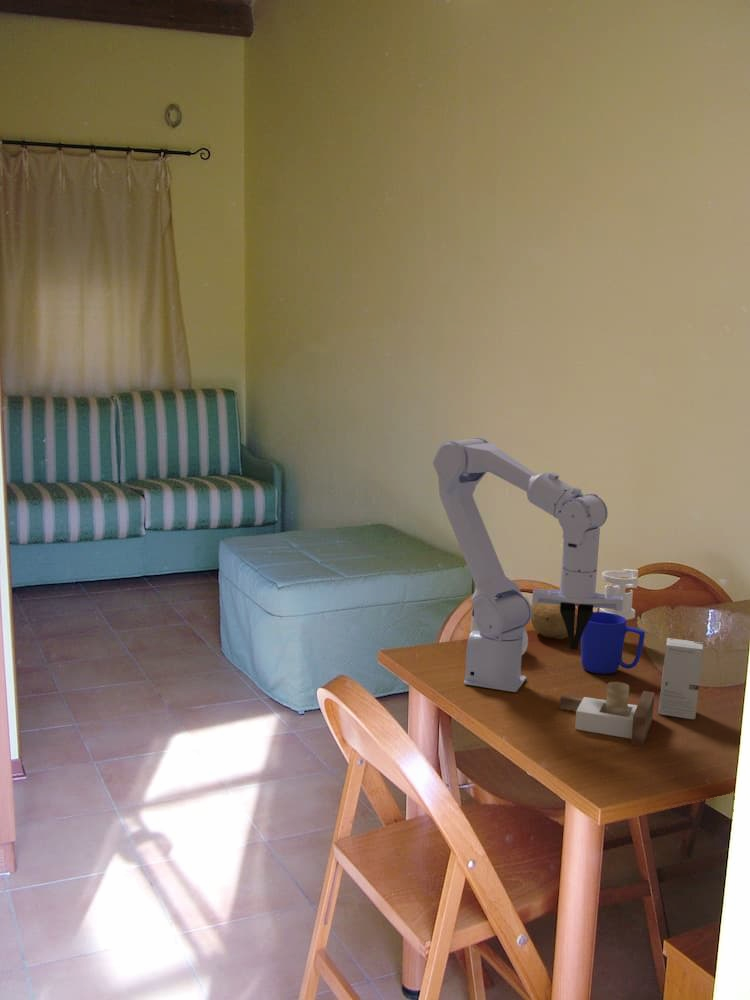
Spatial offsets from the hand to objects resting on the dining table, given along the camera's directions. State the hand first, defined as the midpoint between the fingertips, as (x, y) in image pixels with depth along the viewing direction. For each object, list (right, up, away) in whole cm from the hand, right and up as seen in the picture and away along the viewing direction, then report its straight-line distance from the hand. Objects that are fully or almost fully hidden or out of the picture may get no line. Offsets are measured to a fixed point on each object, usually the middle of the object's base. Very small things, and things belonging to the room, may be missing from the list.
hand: (573, 647), depth 174 cm
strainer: (+16, -4, +38) cm, 41 cm away
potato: (+3, -4, +40) cm, 40 cm away
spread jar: (-9, -5, +30) cm, 32 cm away
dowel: (+5, -11, -8) cm, 14 cm away
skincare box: (+17, -11, 0) cm, 20 cm away
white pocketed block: (+4, -11, -7) cm, 14 cm away
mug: (+10, -7, +19) cm, 23 cm away
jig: (+3, -11, -7) cm, 14 cm away
